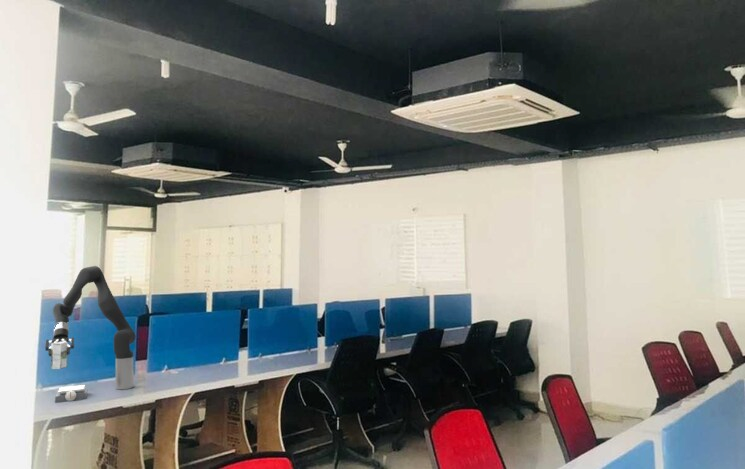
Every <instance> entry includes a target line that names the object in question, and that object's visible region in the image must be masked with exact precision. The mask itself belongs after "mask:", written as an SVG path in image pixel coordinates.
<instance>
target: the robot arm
mask: <svg viewBox="0 0 745 469" xmlns="http://www.w3.org/2000/svg"><path fill="white" fill-rule="evenodd" d="M91 283H94V285H95V287H96V290H97V306H98V307H99V309H100V312H101V313H102V314H103V315H104V317H105V318H106V319H107V320H108V321H109V322H111V323H112V325H114V327H115V329H116V332H115V334H114V336H113V353H114V356H115V390H127V389H129V390H130V389H131V388H134V386H135V384H134V383H135V378H134V377H135V376H134V375H135V374H134V373H135V372H134V371H135V370H134V352H133V350H132V351H131V348H130V347H131V346H130V345H132V344H134V342H135V341H136V333H135V331H134V330H133V328H132V327H131V324H129V323H128V322H129V321H127V319H126V318H125V316H124V314H123V312H122V310H121V308H120V306H119V304H118V302H117V301H116V298H115V297H114V294H113V293H112V291H111V289H110V287H109V285H108V282H107V281H106V278H105V276H104V273H103V270H101V268H100V267H99V266H96V265H93V266H87V267H83V268H81V269H80V271H79V273H78V275H77V276H76V279H75V281H74V283H73V284H72V287H71V288H70V290H69V292H68V293H67V294H66V296H65V297H64V298H63V300H62V302H63V303H62V302H61V303H60V302H59V303H56V304H55V305H54V306H53V307H52V315H53V318H54V324H55V323H59V324H57V325H56V327H55V326H54V327H55V329H54V328H53V335H52V336H53V337H52V339H51V340H49V339H46V340H45V347H44V348H45V349H44V350H45V352H46V351H48V353H47V355H48V356H49V357H51V344H52V343H55V342H61V341H64V342H67V356H69V355H70V353H71V350H72V349H75V338H74V337H71V338H69V332H70V331H69V330H70V327H69V326H70V324H69V325H68V324H67V322H69V323H70V318H69V317H71V316H72V315H73V312H74V309H75V306H76V304H77V303H78V302H79V300H80V299H81V297H82V294H83V289H84V287H85V286H87V284H91ZM69 343H70V344H71V345H70V344H69Z"/></svg>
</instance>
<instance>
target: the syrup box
mask: <svg viewBox="0 0 745 469" xmlns="http://www.w3.org/2000/svg"><path fill="white" fill-rule="evenodd" d="M50 346H51V356H50V369H51V370H62V369H65V368H68V355H67V342H64V341H61V342H55V343H50Z"/></svg>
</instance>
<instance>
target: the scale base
mask: <svg viewBox="0 0 745 469" xmlns="http://www.w3.org/2000/svg"><path fill="white" fill-rule="evenodd" d="M86 396H88V387H85V388H84V391H75V392H74V391H69V392H66V393H58V391H57V392H56V395H55V399H54V400H55V401H54V402H55V403H63V402H72V401H81V400H86V399H87V397H86Z"/></svg>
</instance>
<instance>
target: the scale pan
mask: <svg viewBox="0 0 745 469" xmlns="http://www.w3.org/2000/svg"><path fill="white" fill-rule="evenodd" d="M84 388H86V384H81V385H80V384H79V385H78V384H77V385H69V386H60V387H59V389H58V391H57V392H58V393H66V392H69V391H74V392H75V391H84Z"/></svg>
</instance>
